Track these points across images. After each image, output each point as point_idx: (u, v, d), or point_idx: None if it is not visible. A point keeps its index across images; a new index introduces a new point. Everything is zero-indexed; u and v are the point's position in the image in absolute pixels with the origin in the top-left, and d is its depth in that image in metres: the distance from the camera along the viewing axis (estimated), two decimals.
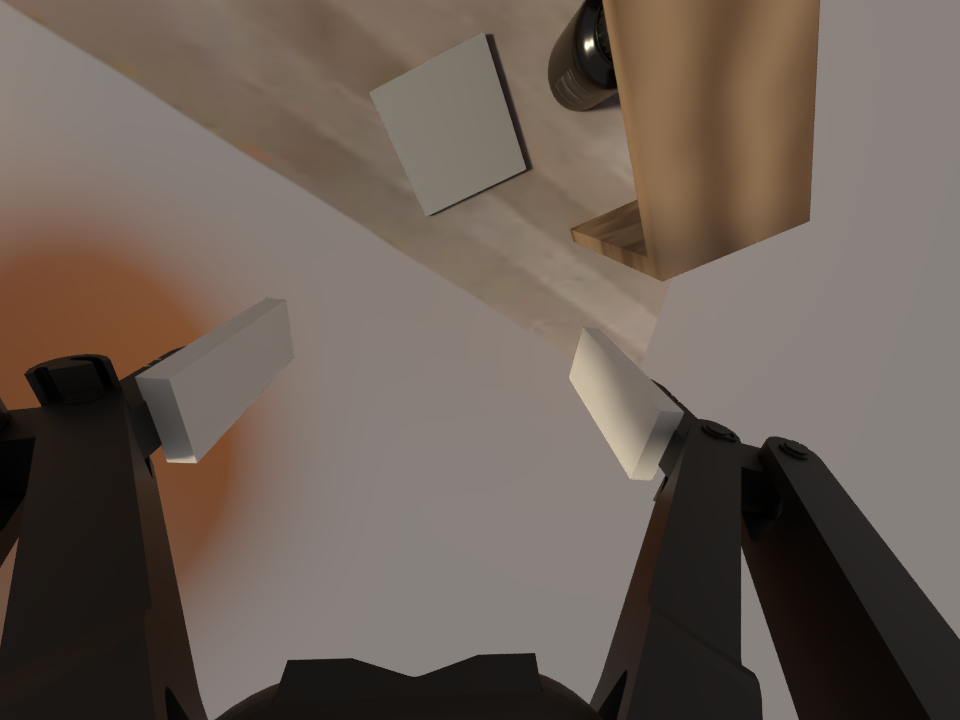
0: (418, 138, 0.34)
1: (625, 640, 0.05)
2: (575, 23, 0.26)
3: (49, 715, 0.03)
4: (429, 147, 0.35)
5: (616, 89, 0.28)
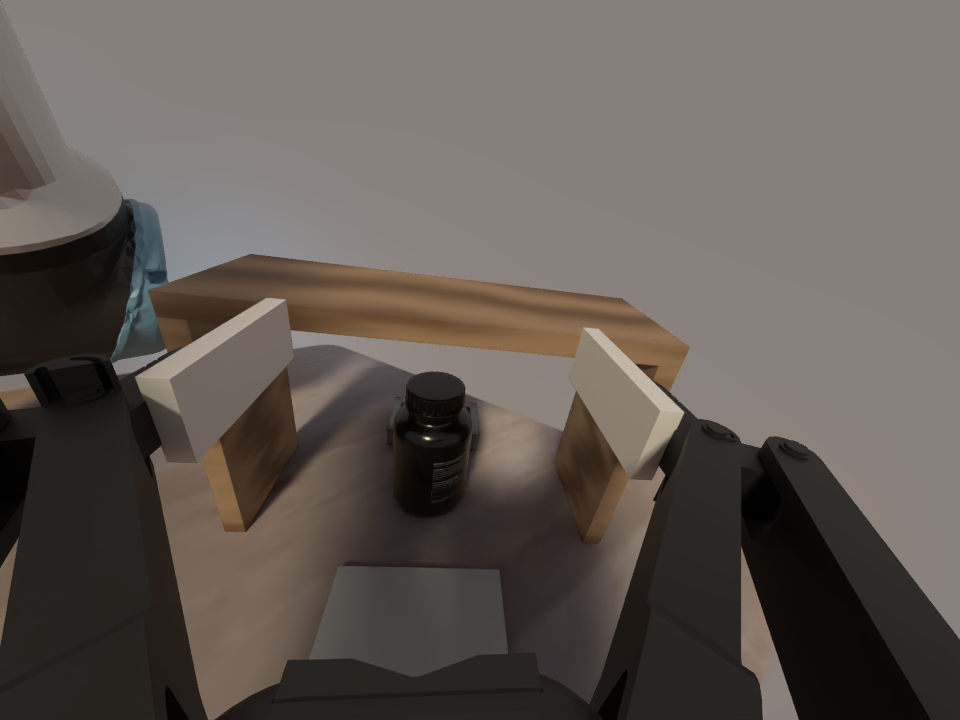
0: None
1: (625, 640, 0.05)
2: (406, 443, 0.26)
3: (50, 714, 0.03)
4: None
5: (471, 429, 0.29)
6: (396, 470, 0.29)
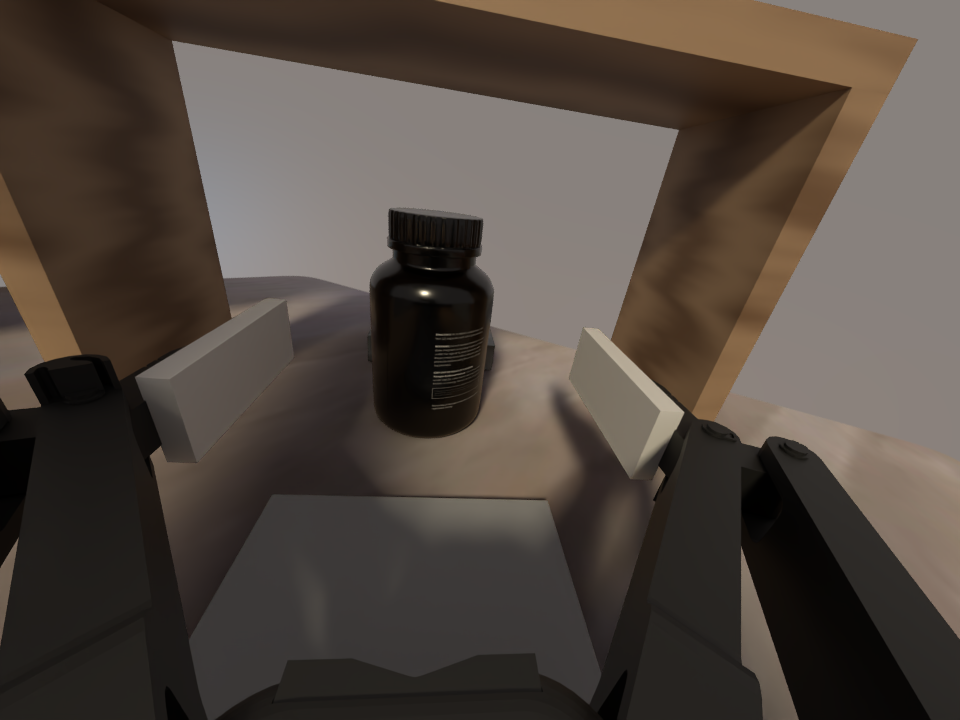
0: None
1: (625, 640, 0.05)
2: (390, 298, 0.16)
3: (49, 714, 0.03)
4: None
5: (493, 293, 0.19)
6: (376, 360, 0.19)
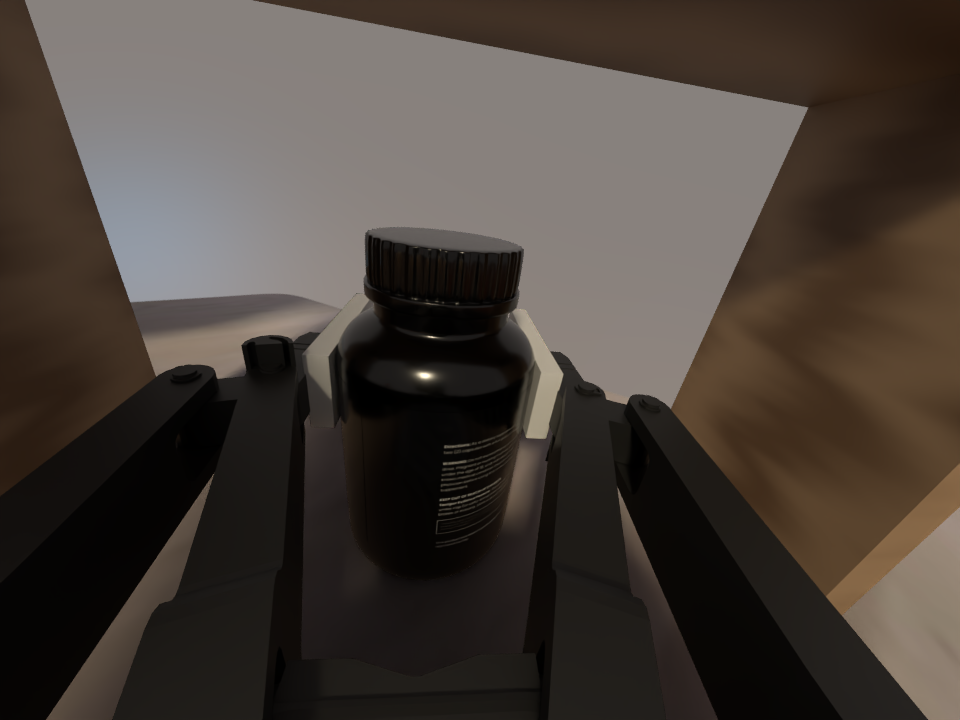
0: None
1: (539, 607, 0.06)
2: (366, 387, 0.09)
3: (201, 640, 0.04)
4: None
5: (534, 363, 0.12)
6: (348, 468, 0.12)
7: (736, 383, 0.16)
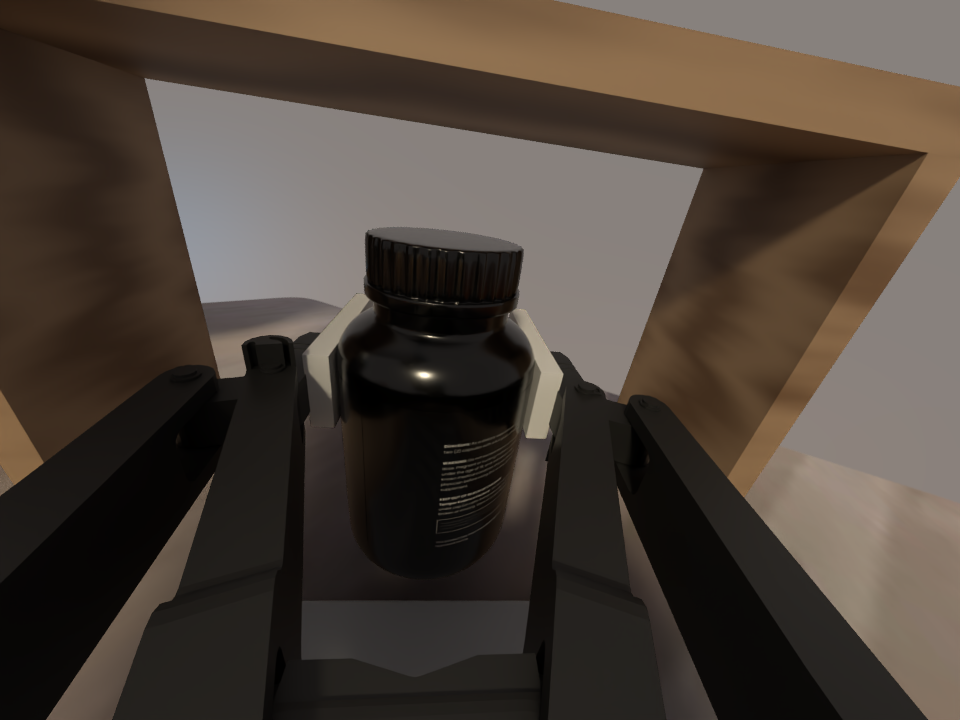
0: None
1: (539, 607, 0.06)
2: (366, 387, 0.09)
3: (201, 640, 0.04)
4: None
5: (534, 362, 0.12)
6: (349, 467, 0.12)
7: (659, 372, 0.21)
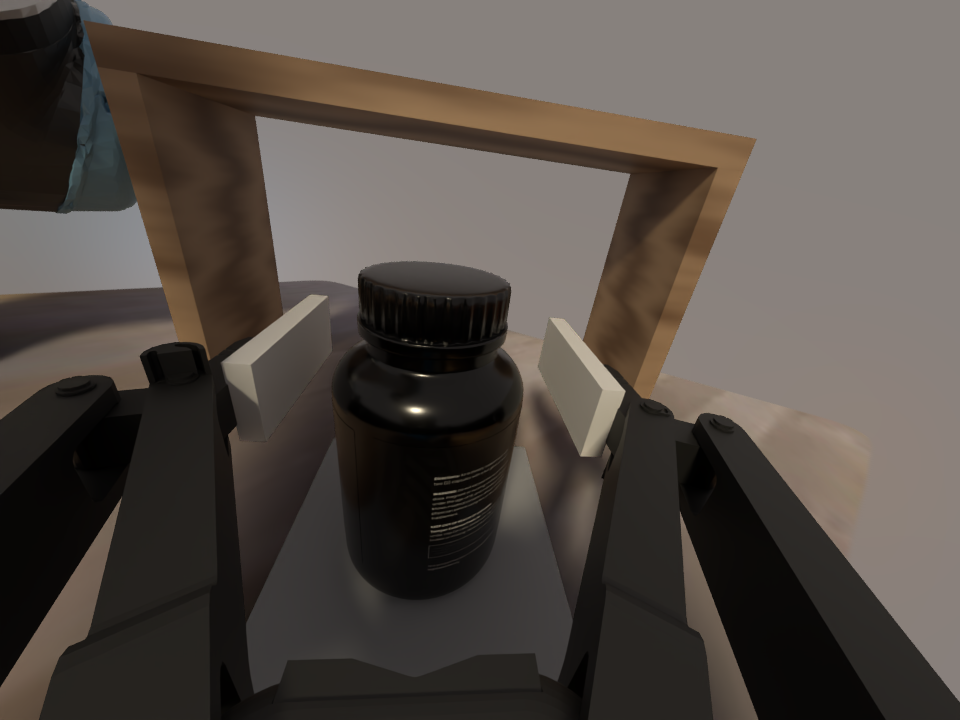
0: (397, 605, 0.13)
1: (584, 620, 0.05)
2: (359, 423, 0.10)
3: (127, 671, 0.03)
4: None
5: (522, 392, 0.12)
6: (344, 493, 0.12)
7: (605, 319, 0.29)
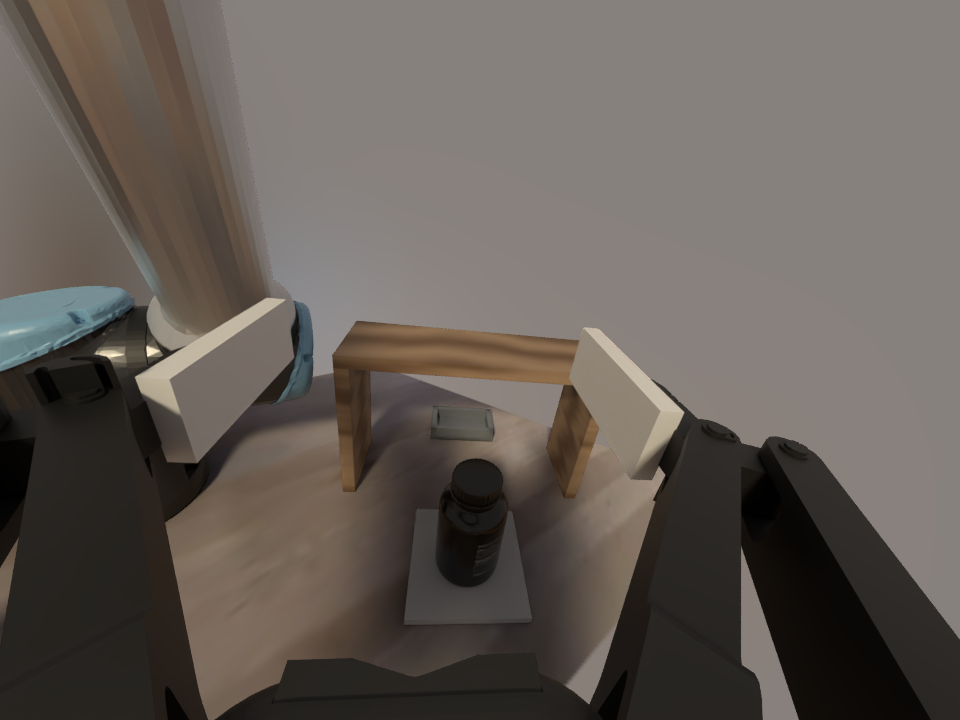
0: (459, 589, 0.34)
1: (625, 640, 0.05)
2: (454, 529, 0.30)
3: (50, 715, 0.03)
4: None
5: (507, 510, 0.33)
6: (441, 547, 0.33)
7: (561, 427, 0.50)
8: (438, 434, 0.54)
